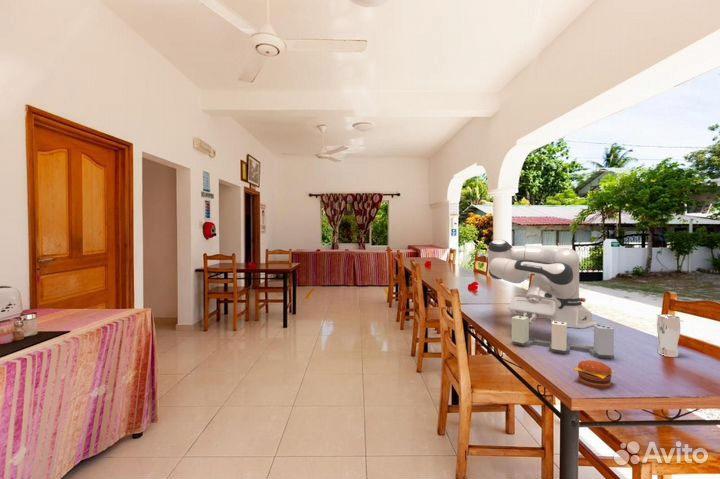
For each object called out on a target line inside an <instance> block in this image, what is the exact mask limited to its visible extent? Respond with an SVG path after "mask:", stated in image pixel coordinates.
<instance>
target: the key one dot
mask: <svg viewBox="0 0 720 479" xmlns="http://www.w3.org/2000/svg"><path fill="white" fill-rule="evenodd" d="M529 319H530V318H529V316H528V317H524V316H522V315H515V316H512V317H511V342H512V341H515V342H519V343H525V342H528V341H529V337H530V333H529V332H530V327H529V326H530V324H529Z"/></svg>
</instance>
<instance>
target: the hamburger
mask: <svg viewBox="0 0 720 479" xmlns="http://www.w3.org/2000/svg"><path fill="white" fill-rule="evenodd" d="M573 371H577V373H578V376H577V380H578V381H579V382H580V383H581V384H583V385H586V386H589V387H592V388H596V389H597V388H598V389H606V388H607V389H608V388H611V386H612V374H616V372H615V371H614V370H612V368H611V367H610V366H609V365H607V364H605V363H603V362H602V361H598V360H590V359H589V360H581V361H579V363H578V364H577V366H576V367H575V368H574V369H573Z"/></svg>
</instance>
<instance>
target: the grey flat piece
mask: <svg viewBox="0 0 720 479" xmlns="http://www.w3.org/2000/svg"><path fill="white" fill-rule="evenodd" d="M511 344H514V345H519V346H522V347H526V348H529V347H531V346H534V345H535V346H541V347H547V348H548V347H549V348H548V350H549V352H553V353H560V354H565V355H566V354H567V355H570V352H571V351H574V352H575V351H576V352H577V351H578V352H583V353H588V354H590V356H592V357H593V358H604V359H605V358H606V359H615V355H614V356H612V355H598V354H597V353H596V352H595V351H594V345H580V344H579V345H578V344H571V343H567V349H566V351H563V350H556V349H552V340H551V341H550V340H542V339H537V338H535V337H530V336H529V341H528V342H525V343H519V342H515V341H512V340H511Z"/></svg>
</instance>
